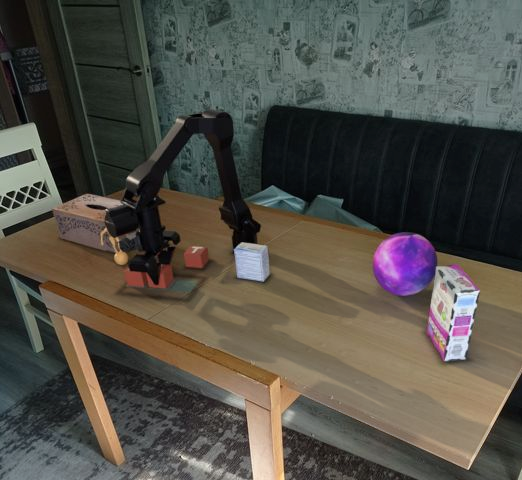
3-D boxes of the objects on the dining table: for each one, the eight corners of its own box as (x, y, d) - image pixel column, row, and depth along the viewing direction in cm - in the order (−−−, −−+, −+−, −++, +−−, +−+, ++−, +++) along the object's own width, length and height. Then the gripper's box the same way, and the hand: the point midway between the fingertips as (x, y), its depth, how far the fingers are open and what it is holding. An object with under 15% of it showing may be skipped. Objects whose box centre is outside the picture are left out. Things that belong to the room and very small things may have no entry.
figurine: (113, 271, 152) (103, 232, 145) (103, 265, 155) (93, 226, 148) (138, 261, 156) (130, 222, 149) (128, 255, 160) (119, 217, 152)
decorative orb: (431, 310, 124) (440, 251, 116) (367, 304, 129) (370, 247, 120) (434, 279, 136) (442, 223, 127) (375, 274, 140) (378, 220, 131)
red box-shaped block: (173, 279, 144) (171, 264, 141) (166, 288, 140) (162, 273, 137) (157, 277, 145) (154, 262, 143) (149, 287, 142) (145, 271, 139)
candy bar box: (467, 360, 109) (481, 290, 99) (443, 362, 109) (455, 293, 99) (447, 329, 118) (458, 262, 108) (425, 332, 118) (434, 265, 108)
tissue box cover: (149, 235, 170) (142, 205, 164) (115, 253, 161) (108, 222, 155) (94, 221, 183) (86, 193, 177) (60, 238, 173) (51, 208, 167)
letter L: (152, 278, 146) (149, 263, 143) (144, 287, 142) (140, 271, 139) (136, 276, 147) (132, 261, 144) (127, 285, 143) (123, 270, 141)
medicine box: (270, 274, 144) (268, 245, 139) (263, 282, 141) (261, 252, 135) (244, 270, 147) (241, 241, 142) (236, 278, 143) (233, 248, 138)
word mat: (204, 277, 145) (204, 276, 145) (187, 300, 136) (187, 298, 135) (139, 271, 150) (139, 270, 150) (118, 293, 141) (117, 291, 141)
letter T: (209, 261, 153) (207, 246, 150) (202, 269, 149) (200, 254, 146) (193, 259, 154) (190, 245, 151) (186, 267, 150) (183, 253, 148)
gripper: (138, 208, 142) (149, 261, 151) (102, 238, 128) (117, 294, 137) (176, 210, 139) (185, 264, 148) (143, 241, 125) (156, 298, 134)
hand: (161, 279), depth 142 cm, fingers closed on red box-shaped block, 5 cm apart
